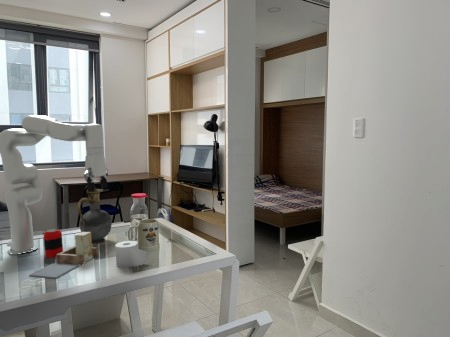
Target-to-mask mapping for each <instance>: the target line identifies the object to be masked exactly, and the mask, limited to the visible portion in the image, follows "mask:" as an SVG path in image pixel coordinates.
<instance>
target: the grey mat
mask: <svg viewBox="0 0 450 337" xmlns="http://www.w3.org/2000/svg"><path fill="white" fill-rule="evenodd" d="M78 267H79V265H71V264H59V263H57V262H55V263H54V262H52V263H50V264H49V265H46V266H44V267H42V268H40V269H39V270H36V271H34V272H32V273H30V274H29V275H28V276H29V277H33V278H34V277H35V278H46V279H55V280H57V279H58V278H60V277H62V276H64V275H66V274H68V273H70V272H72V271H73V270H76V269H77V268H78Z"/></svg>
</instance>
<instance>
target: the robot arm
mask: <svg viewBox="0 0 450 337" xmlns="http://www.w3.org/2000/svg"><path fill="white" fill-rule="evenodd" d="M21 127H22V128H8V129H4V130H3V131H1V132H0V157H1V162H2V167H3V168H2V169H3V174H4V180H5V181H6V183H7V184H8V185H10V186H11V185H12V186H17V185H21V184H22V185H23V186H18V187H13V188H11V189H9V190H8V191H6V193H5V194H4V200H5V204H6V207H7V210H8V211H7V212H8V219H9V220H8V221H9V230H10V239H11V240H10V241H9V242H8V243H7V244H6V247H10V249H9V250H8V254H9V253H12V254H11V255H19V254H18V253H23V252H28V251H31V250H33V249H31V248H33V247H34V245H35V240H34V230H33V229H34V228H33V217H32V212H31V210H30V208H29V207H28V206H29V205H33V204H36V203H39V202H41V200H42V198H43V187H42V181H41V176H40V172H39V170H38V168H37V166H36V165H34V164H31V163H24V161H23V156H22V154H21V152H20V150H19V149H18V148H17V147H31V146H32V147H33V146H36V145H37V144H39V143H40V142H41V141H42V140H44V139H45V138H46V137H49V138H52V139H55V140H59V141H64V142H84V143H85V151H86V152H85V153H86V154H85V159H84V160H85V162H84V173H83V177H84V180H85V181H86V184H87V190H88V191H95V189H96V185H95V182H94V181H95V180H96V178H100V179H99V182H100V183H99V185H100V188H101V189H107V188H108V176H109V169H108V168H107V163H106V157H105V146H104V132H103V125H101V124H99V123H90V124H83V123H82V124H78V123H65V122H64V123H63V122H59V120H58V119H56V118H53V117H52V118H51V117H50V116H47V115H39V114H38V115H37V114H30V115H26V116H24V117H23V118H22V121H21Z"/></svg>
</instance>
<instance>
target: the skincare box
mask: <svg viewBox="0 0 450 337" xmlns="http://www.w3.org/2000/svg"><path fill="white" fill-rule="evenodd" d="M74 240H75V241H74V243H75V246H76V255H83V257H84V263H86V262H88V261H89V260H92V259H93V257H92V247H93V244H92V241H91V232H82V233H81V232H79V233H76V234H75V235H74Z"/></svg>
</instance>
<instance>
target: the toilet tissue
mask: <svg viewBox="0 0 450 337" xmlns="http://www.w3.org/2000/svg"><path fill="white" fill-rule="evenodd" d="M114 247H115V248H114V249H115V250H114V252H115V262H116V263H115V264H116V266H117V267H118V268H132V267H131V266H133V267H139V265H140V266H143V264H144V265H145V262H146V258H147V255H148V251H147V250H144V249H140V248H139V242H137V241H136V240H123V241H121V242H117V243H116V244H115V245H114Z"/></svg>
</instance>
